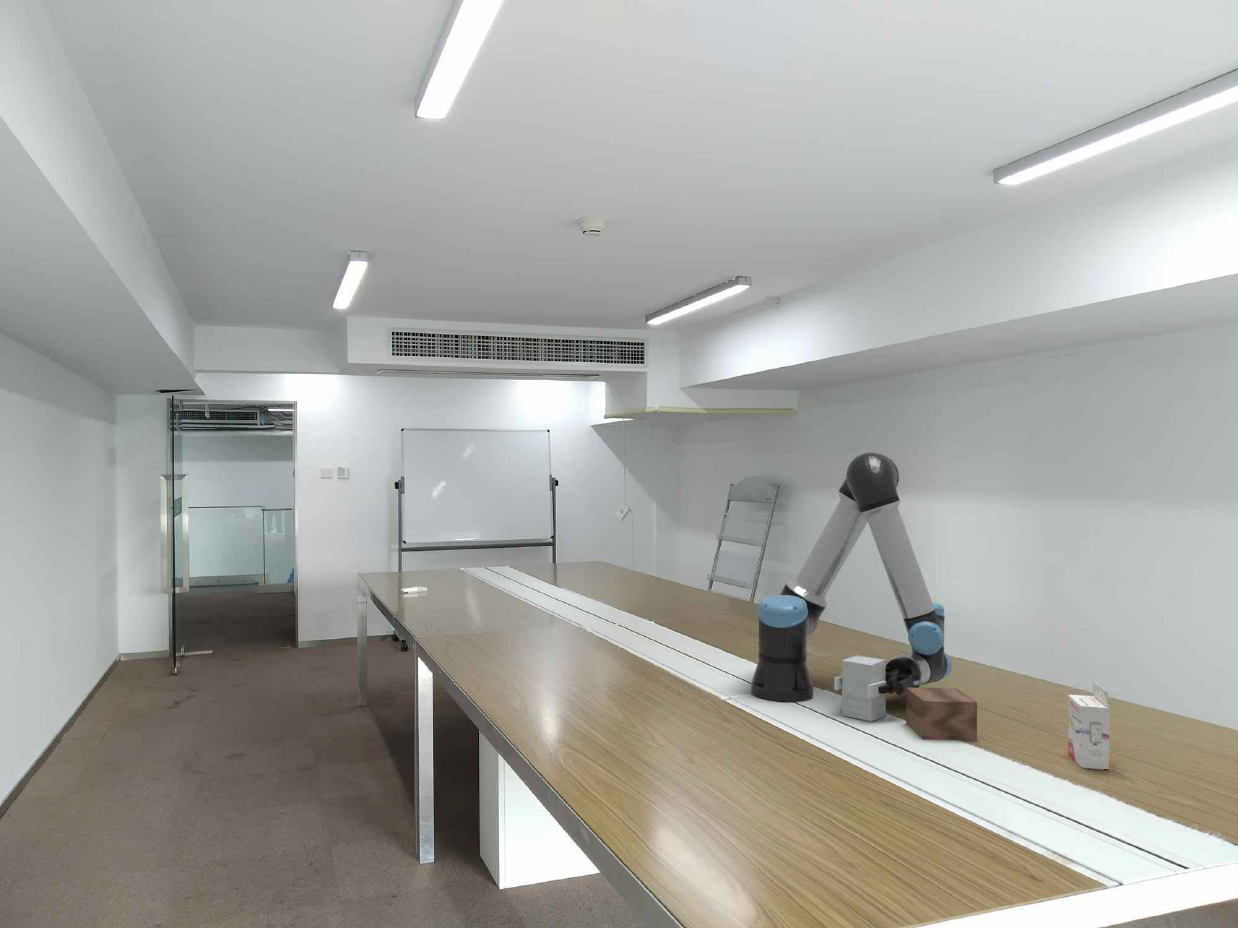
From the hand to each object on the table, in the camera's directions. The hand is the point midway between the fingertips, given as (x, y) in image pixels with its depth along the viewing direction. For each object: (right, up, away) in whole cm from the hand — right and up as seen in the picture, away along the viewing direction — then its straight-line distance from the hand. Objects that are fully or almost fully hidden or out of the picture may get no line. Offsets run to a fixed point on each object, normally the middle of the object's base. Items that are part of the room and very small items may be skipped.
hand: (851, 687), depth 187 cm
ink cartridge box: (+38, -7, -26) cm, 47 cm away
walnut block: (+17, -7, -8) cm, 20 cm away
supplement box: (+4, -7, +3) cm, 9 cm away
